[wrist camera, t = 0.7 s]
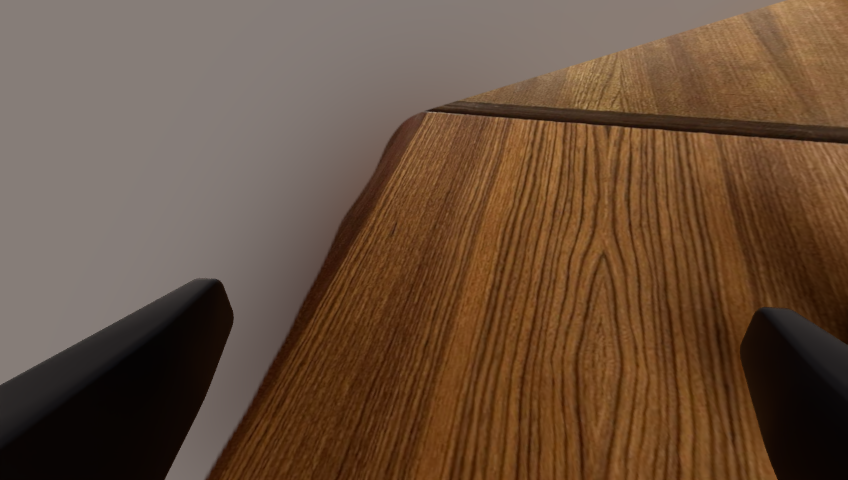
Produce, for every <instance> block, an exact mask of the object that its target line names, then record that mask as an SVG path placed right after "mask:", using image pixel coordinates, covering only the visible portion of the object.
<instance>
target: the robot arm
mask: <svg viewBox="0 0 848 480" xmlns="http://www.w3.org/2000/svg"><path fill="white" fill-rule="evenodd" d="M233 319H234V317H233V310H232V308H231V305H230V302H229V300H228V297H227V294H226V291H225V289H224V286H223V284H222V283H221V282H220V281H219V280H217V279H207V278H206V279H205V278H198V279H194V280H192V281H191V282H189V283H187V284H185V285H183V286H182V287H180V288H178V289H176V290H174V291H172V292H170V293H168V294H167V295H165V296H163V297H161V298H159V299H157V300H156V301H154V302H152V303H150V304H148V305H146V306H145V307H143V308H141V309H139V310H137V311H136V312H134V313H132V314H130V315H128V316H126V317H124V318H123V319H121V320H119V321H117V322H115V323H113V324H112V325H110V326H108V327H106V328H104V329H102V330H101V331H99V332H97V333H95V334H93V335H91V336H90V337H88V338H86V339H84V340H82V341H80V342H78V343H77V344H75V345H73V346H71V347H69V348H67V349H66V350H64V351H62V352H60V353H58V354H56V355H55V356H53V357H51V358H49V359H47V360H45V361H44V362H42V363H40V364H38V365H36V366H34V367H33V368H31V369H29V370H27V371H25V372H23V373H21V374H20V375H18V376H16V377H14V378H13V379H11V380H9V381H7V382H5V383H3V384H1V385H0V480H165V478H166V476H167V473H168V471H169V469H170V468H171V466H172V464H173V462H174V460H175V457H176V455H177V454H178V451H179V450H180V448H181V445H182V444H183V442H184V440H185V437H186V436H187V434H188V432H189V430H190V427H191V426H192V423H193V422H194V420H195V418H196V416H197V414H198V411H199V409H200V407H201V405H202V403H203V401H204V399H205V396H206V394H207V392H208V389H209V386H210V384H211V381H212V379H213V376H214V373H215V371H216V368H217V365H218V363H219V360H220V357H221V355H222V352H223V350H224V347H225V344H226V341H227V339H228V336H229V334H230V331H231V328H232V325H233ZM740 358H741V362H742V366H743V370H744V373H745V377H746V380H747V384H748V388H749V391H750V395H751V399H752V402H753V406H754V410H755V413H756V417H757V420H758V424H759V428H760V431H761V435H762V438H763V441H764V445H765V448H766V451H767V453H768V456H769V459H770V461H771V464H772V467H773V469H774V472H775V474H776V477H777V479H778V480H848V345H847V344H845V343H844V342H842V341H840V340H839V339H837V338H836V337H834V336H833V335H831V334H829V333H828V332H826V331H825V330H823V329H822V328H820V327H818V326H817V325H815V324H814V323H812V322H811V321H809V320H807V319H806V318H804V317H803V316H801V315H800V314H798V313H796V312H795V311H793V310H791V309H788V308H774V307H762V308H759V309H758V310H757V311H756V312H755V313H754V315H753V317H752V320H751V322H750V324H749V326H748V329H747V331H746V333H745V336H744V338H743V340H742V343H741V346H740Z"/></svg>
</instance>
